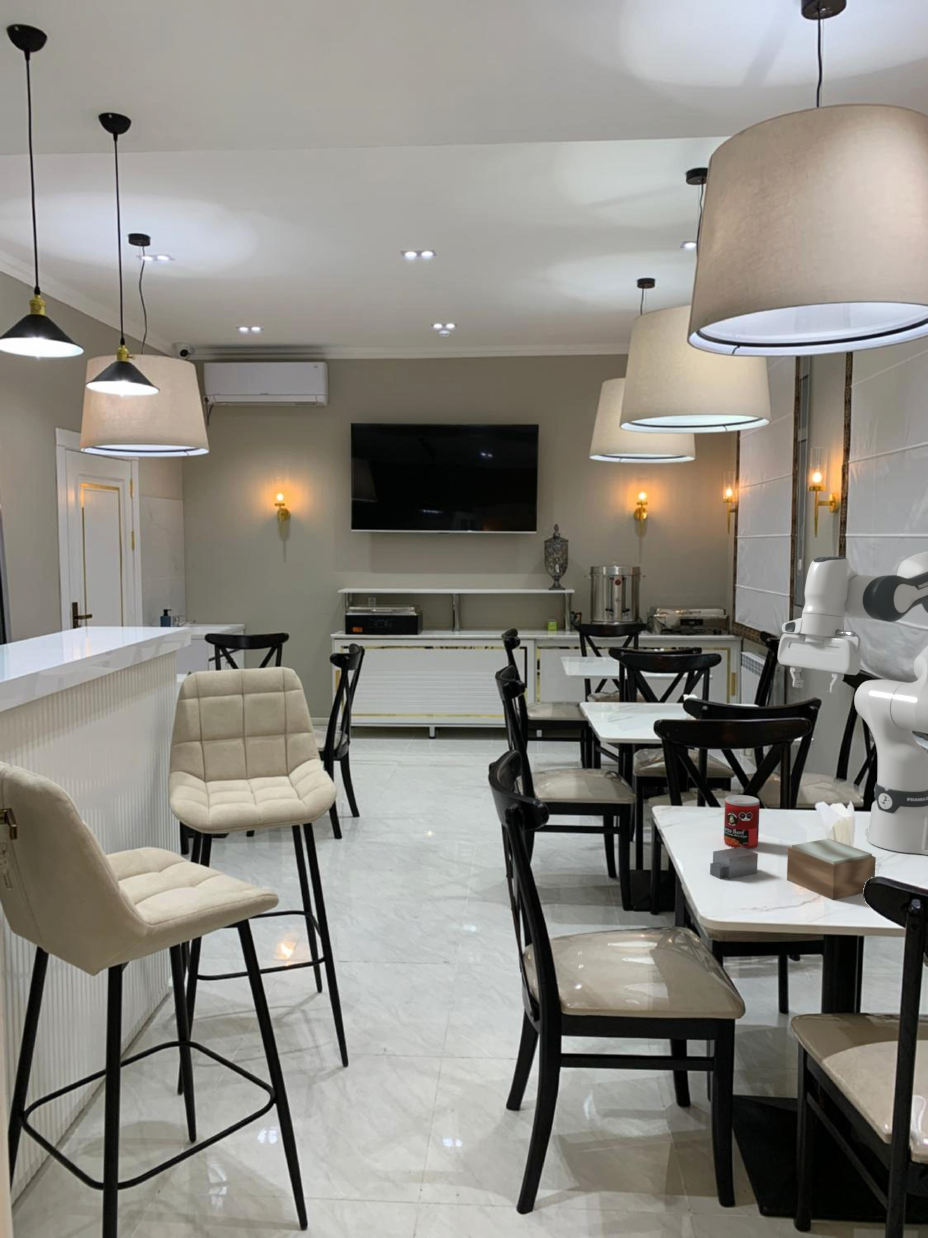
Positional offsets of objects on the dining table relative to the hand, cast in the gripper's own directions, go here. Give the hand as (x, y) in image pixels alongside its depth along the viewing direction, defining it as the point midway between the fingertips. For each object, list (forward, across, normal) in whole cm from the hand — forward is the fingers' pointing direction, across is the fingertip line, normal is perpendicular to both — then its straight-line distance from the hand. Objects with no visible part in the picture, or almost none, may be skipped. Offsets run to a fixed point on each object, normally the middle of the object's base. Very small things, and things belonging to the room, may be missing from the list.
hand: (814, 690), depth 196 cm
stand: (+40, -12, +2) cm, 41 cm away
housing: (+41, +2, +15) cm, 44 cm away
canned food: (+40, +16, 0) cm, 43 cm away
